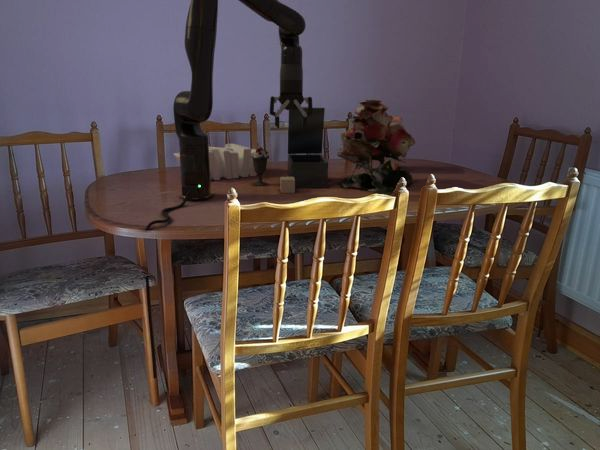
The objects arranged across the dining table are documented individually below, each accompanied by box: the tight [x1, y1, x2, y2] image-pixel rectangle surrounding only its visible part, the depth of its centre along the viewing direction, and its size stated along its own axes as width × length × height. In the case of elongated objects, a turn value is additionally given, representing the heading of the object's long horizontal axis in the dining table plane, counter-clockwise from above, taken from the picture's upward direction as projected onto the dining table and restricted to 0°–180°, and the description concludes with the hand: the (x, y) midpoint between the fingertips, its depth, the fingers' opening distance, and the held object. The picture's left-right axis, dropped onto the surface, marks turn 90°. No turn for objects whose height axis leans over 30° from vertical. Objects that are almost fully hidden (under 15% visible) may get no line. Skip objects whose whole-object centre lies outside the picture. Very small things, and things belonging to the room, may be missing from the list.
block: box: [279, 176, 296, 194], centre depth 181 cm, size 5×5×5 cm
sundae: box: [251, 142, 270, 187], centre depth 190 cm, size 7×7×15 cm
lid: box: [287, 106, 326, 155], centre depth 198 cm, size 18×13×5 cm
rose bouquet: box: [336, 98, 416, 195], centre depth 190 cm, size 26×29×30 cm
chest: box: [287, 153, 329, 189], centre depth 194 cm, size 17×13×9 cm
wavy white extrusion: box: [173, 143, 259, 182], centre depth 205 cm, size 35×16×11 cm, turn 119°
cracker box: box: [384, 116, 403, 170], centre depth 217 cm, size 14×6×21 cm, turn 165°
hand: (290, 128), depth 181 cm, fingers open, 8 cm apart
